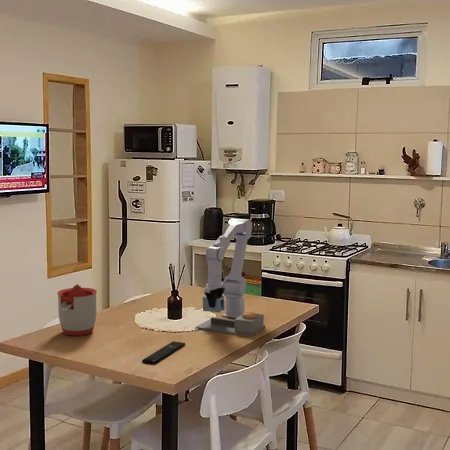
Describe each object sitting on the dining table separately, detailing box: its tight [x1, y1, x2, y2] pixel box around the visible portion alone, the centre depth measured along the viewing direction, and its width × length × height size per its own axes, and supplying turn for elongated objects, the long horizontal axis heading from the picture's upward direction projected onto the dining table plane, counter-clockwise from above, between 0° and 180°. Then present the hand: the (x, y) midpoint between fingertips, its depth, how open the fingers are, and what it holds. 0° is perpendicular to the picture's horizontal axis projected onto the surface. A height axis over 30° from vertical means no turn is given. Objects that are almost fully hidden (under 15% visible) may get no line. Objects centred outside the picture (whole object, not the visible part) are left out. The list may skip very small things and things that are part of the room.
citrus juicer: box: [57, 284, 98, 337], centre depth 253 cm, size 16×17×20 cm
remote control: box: [141, 340, 186, 365], centre depth 230 cm, size 5×24×1 cm, turn 157°
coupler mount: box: [195, 311, 266, 338], centre depth 263 cm, size 16×25×7 cm, turn 64°
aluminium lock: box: [202, 295, 226, 313], centre depth 266 cm, size 5×8×7 cm, turn 64°
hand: (214, 306), depth 266 cm, fingers closed on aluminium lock, 5 cm apart
